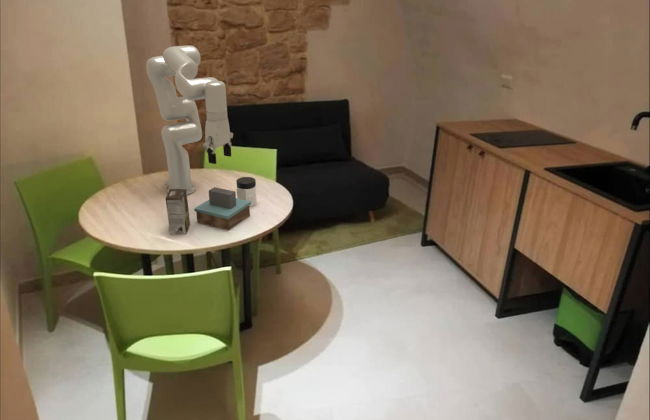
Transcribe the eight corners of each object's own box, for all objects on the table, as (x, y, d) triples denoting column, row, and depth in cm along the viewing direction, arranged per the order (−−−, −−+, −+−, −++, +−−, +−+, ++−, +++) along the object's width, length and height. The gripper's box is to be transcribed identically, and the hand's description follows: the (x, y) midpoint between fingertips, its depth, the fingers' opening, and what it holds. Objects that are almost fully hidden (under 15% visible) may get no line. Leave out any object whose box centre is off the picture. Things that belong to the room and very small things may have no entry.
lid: (194, 211, 193) (192, 194, 190) (218, 196, 206) (217, 181, 203) (228, 219, 187) (226, 202, 184) (250, 204, 200) (250, 187, 197)
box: (197, 224, 195) (196, 210, 193) (220, 210, 208) (219, 197, 205) (228, 232, 190) (227, 218, 187) (249, 217, 202) (249, 204, 200)
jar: (241, 211, 208) (240, 185, 203) (233, 204, 214) (232, 179, 209) (260, 206, 212) (259, 181, 207) (252, 200, 218) (251, 175, 213)
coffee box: (174, 226, 194) (169, 188, 187) (190, 226, 194) (186, 188, 188) (169, 237, 185) (164, 198, 179) (186, 236, 186) (182, 197, 179)
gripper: (222, 109, 189) (225, 152, 197) (193, 119, 175) (198, 164, 182) (238, 111, 187) (241, 154, 194) (211, 122, 172) (214, 167, 179)
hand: (220, 159), depth 188 cm, fingers open, 9 cm apart
